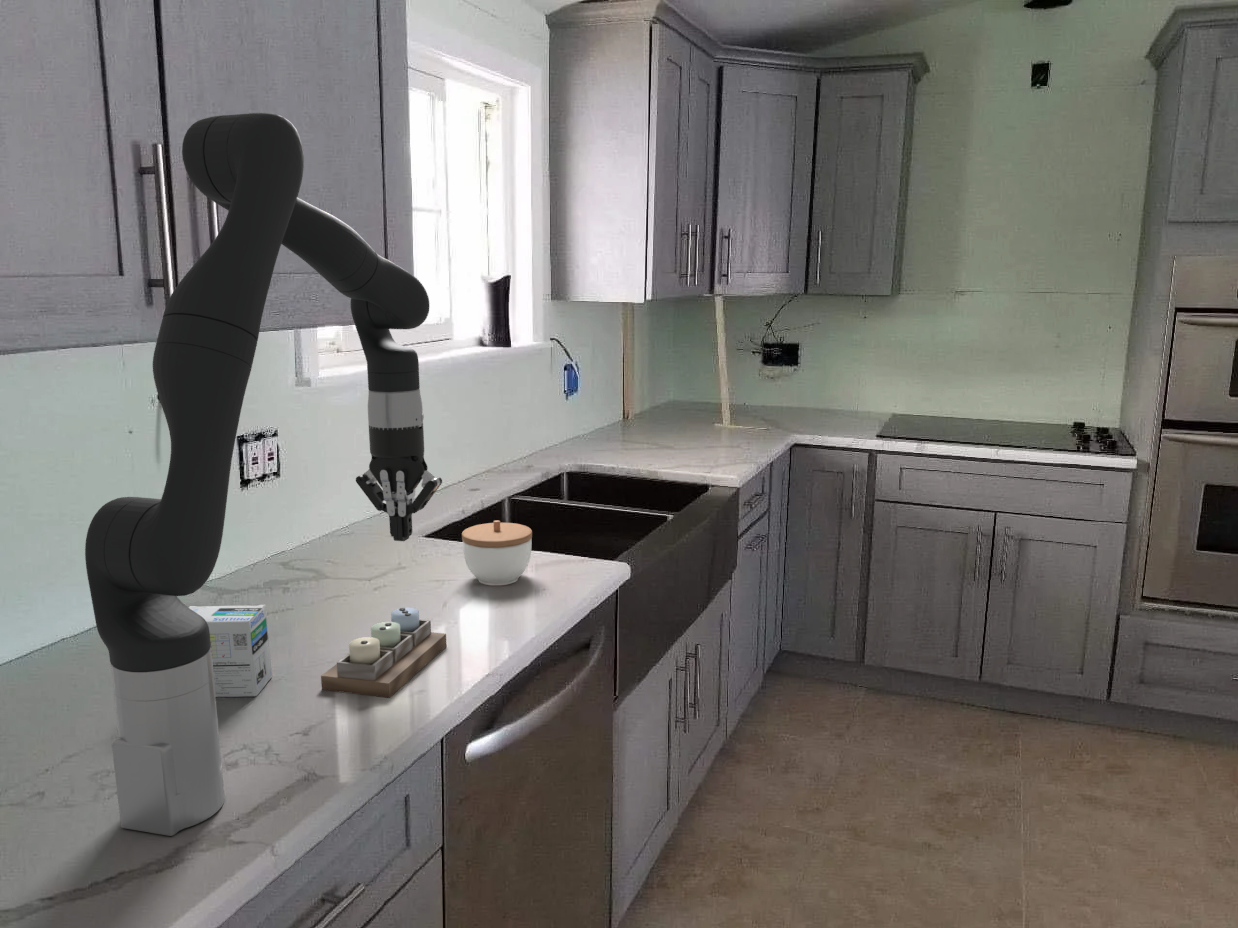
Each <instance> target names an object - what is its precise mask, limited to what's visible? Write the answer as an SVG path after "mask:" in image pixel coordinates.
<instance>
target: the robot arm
mask: <svg viewBox="0 0 1238 928" xmlns="http://www.w3.org/2000/svg"><path fill="white" fill-rule="evenodd" d="M183 136H184V137H183V141H182V146H181V154H182V162H183V165H184V169H185V171H186V173H187V175H188V177H189V179H190V181H191V182H192V184H193V185H194V186H195V188H197V189H198V191H199V192H201V194H203V195H204V196H205V197H206V198H208V199H209V200H210V201H212V202H213V203H215V204H216V205H218V206H220V207H221V208H223V209H225V210H227V211H228V212H227V215H226V217H225V220H224V223H223V225H222V226H221V229H220V230H219V233H218V234H217V236H216V237H215V238H214V240H213V241H212V243H211V244H210V245H209V246H208V247H207V249H206V250H205V251H204V252H203V254H202V255H201V256H200V257H199V258H198V260H196V262H195V263H194V264H193V266H192V267H190V269H189V270H188V272H186V274H185V275H184V276H183V278H182V279H181V280H180V281H179V283H178V284H177V286H176V287H175V289H174V290H173V291H172V293H171V295H170V297H169V299H168V301H167V303H166V306H165V308H164V311H163V314H162V319H161V321H160V322H161V323H160V327H159V332H158V335H157V338H156V342H155V347H154V351H153V357H152V372H153V373H152V374H153V380H154V384H155V388H156V393H157V395H158V398H159V401H160V405H161V408H162V411H163V414H164V417H165V421H166V423H167V428H168V431H169V437H170V438H169V439H170V457H169V458H170V460H169V465H168V472H167V477H166V482H165V486H164V489H163V492H162V494H161V498H151V497H141V496H140V497H139V496H124V497H123V496H121V497H117V498H114V499H112V500H110V501H108V502H106V503H104V504H103V505H102V506H101V507H100V508H99V509H98V510H97V511H96V512H95V514H94V516H93V517H92V519H91V521H90V524H89V525H88V528H87V532H86V536H85V538H86V539H85V542H84V543H85V545H84V546H85V547H84V548H85V549H84V551H85V552H84V555H85V556H84V559H85V567H86V576H87V581H88V586H89V592H90V597H91V604H92V610H93V613H94V614H93V615H94V620H95V625H96V629H97V632H98V635H99V637H100V639H101V641H102V642H103V644H104V645H105V646H106V649H107V650H108V655H109V662H110V671H111V678H112V688H113V697H114V706H115V707H114V708H115V716H116V723H117V724H116V725H117V732H118V737H117V738H115V739H114V740H113V741H112V742H111V750H112V751H111V753H112V758H113V759H112V760H113V768H114V777H115V787H116V794H117V795H116V796H117V803H118V804H117V805H118V810H119V819H120V827H121V828H122V829H126V830H133V831H139V832H143V833H144V832H145V833H151V834H157V835H162V836H169V837H170V836H171V837H173V836H174V835H176V834H177V833H178V832H180V831H181V830H184V829H186V828H189V827H193V826H196V825H198V824H200V823H203V822H204V821H206V820H207V819H209V818H211V817H212V816H214V815H215V814H216V813H217V812H218V811H220V809H221V808H222V806H223V804H224V803H225V799H226V798H225V787H224V786H225V785H224V774H223V765H222V753H221V743H220V734H219V733H220V732H219V720H218V710H217V700H216V698H217V697H215V686H214V675H213V663H212V652H211V641H210V631H209V626H208V624H207V622H206V621H205V619H204V618H203V617H202V616H200V615H199V614H197V613H196V612H194V611H193V610H191V609H190V608H188V606H187V605H186V604H184V603H183V602H182V601H181V599H180V598H179V597H185V596H189V595H192V594H194V593H195V592H196V591H198V590H199V589H201V588H202V587H203V586H204V585H205V583H206V582H207V581H208V580H209V579H210V577H211V575H212V573H213V571H214V569H215V566H216V564H217V561H218V558H219V555H220V550H221V545H222V542H223V541H222V540H223V535H224V525H225V518H226V513H227V512H226V511H227V501H228V494H229V485H230V476H231V467H232V461H233V454H234V449H235V444H236V437H237V433H238V427H239V424H240V417H241V412H242V407H243V403H244V399H245V395H246V390H247V387H248V383H249V379H250V376H251V372H252V368H253V363H254V358H255V355H256V351H257V346H258V341H259V335H260V329H261V326H262V325H261V324H262V318H263V314H264V310H265V306H266V305H265V304H266V302H267V297H268V293H269V290H270V285H271V282H272V278H273V273H274V270H275V266H276V263H277V259H278V256H279V252H280V249H281V246H282V245H283V247H284V248H286V249H288V250H289V251H290V252H292V253H293V254H295V255H296V256H297V257H299V258H300V259H301V260H303V261H304V262H305V263H306V264H308V266H309V267H311V268H312V269H313V270H314V271H316V272H317V273H318V274H319V275H320V276H321V277H322V278H324V280H325V281H327V282H328V283H329V284H330V285H331V286H332V287H333V288H335V290H337V291H338V292H339V293H340V294H342V295H343V296H345V297H347V298H350V312H351V315H352V320H353V323H354V325H355V330H356V331H357V335H358V338H359V341H360V344H361V348H362V350H363V353H364V356H365V360H366V364H367V365H366V368H367V369H366V372H367V387H368V396H367V397H368V398H367V419H368V437H369V453H370V455H371V460H370V462H369V464H368V468H369V469H368V470H367V471H366V472H364V473H363V474H361V475H357V476H356V478H355V483H356V484H357V485H358V487H360V489H361V490H362V492H363V493H364V495H365V496H366V497H367V498H368V500H369V501H370V503H371V504H372V505H373V506H374V508H375V509H376V510H377V511H379V512H384V513H386V514H387V515H388V520H389V534H390V537H391V538H393V541H398V542H405V541H407V540H408V539H410V536H412V534H413V514H416V513H417V512H419V511H421V510H423V509H424V508H425V507H426V505H427V504H428V503H429V502H430V500H431V499H432V497H433V496H434V495H435V493H436V492H437V491H438V489H439V488H440V486H441V485H442V484H443V479H442V478H441V477H440V476H434V474H432V473H431V472H429V470H428V464H427V463H426V460H425V458H424V457H425V456H424V455H425V438H424V437H425V436H424V435H425V434H424V432H425V431H424V417H425V416H424V413H423V410H424V409H423V402H422V396H421V389H420V367H419V366H420V363H419V355H418V353H417V351H416V350H415V349H413V348H411V347H408V346H405V345H401V344H400V343H398V342H396V341H395V339H394V338H393V336H392V333H391V331H390V330H413V329H416V328H418V327H420V326H421V325H423V323H424V322H425V321H426V320H427V318H428V316H429V313H430V298H429V294H428V292H427V290H426V288H425V287H424V285H423V283H421V281H420V280H419V279H418V277H416V276H415V275H413V274H412V273H410V272H409V271H407V270H406V269H404V268H402V267H401V266H400V265H397V264H396V263H394V262H393V261H390V260H389V259H387V258H384V257H383V256H381V255H379V254H378V252H376V250H375V249H374V248H373V247H372V246H370V244H369V243H368V242H367V241H366V240H365V239H364V238H363V237H362V236H361V235H360V234H359V233H358V232H357V231H356V230H354V229H353V227H352V226H350V225H348V224H347V223H346V222H344V221H343V220H341V219H339V218H337V217H336V216H334V215H332V214H331V213H328V212H326V211H325V210H322V209H320V208H319V207H316V206H315V205H312V204H310V202H309V203H308V202H307V201H304V200H303V199H301V198H299V197H298V196H299V193H300V190H301V188H302V187H301V185H302V183H303V177H304V170H305V169H304V168H305V155H304V146H303V142H302V139H301V137H300V134H299V132H298V130H297V128H296V127H295V126H294V124H293V123H292V122H291V121H290V120H288V119H287V118H286V117H284V116H283V115H280V114H276V113H270V112H251V113H250V112H249V113H239V114H226V115H225V114H224V115H215V116H210V117H209V116H208V117H206V118H205V117H204V118H201V119H199V120H197V121H196V122H194V123H193V124H191V125H190V126H189V128H188V129H187V131H186V132H185V135H183ZM421 481H422V482H421ZM420 483H421V487H422V489H421V490H420V492H419V493H418V495H417V496H416V488H417V487H418V486H419V484H420ZM415 496H416V498H415Z"/></svg>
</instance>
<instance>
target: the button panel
mask: <svg viewBox="0 0 1238 928" xmlns="http://www.w3.org/2000/svg"><path fill="white" fill-rule="evenodd" d="M431 622H432V621H431V620H429V619H420V618H419V624H420V627H419V628H418V629H416V630H415V631H414V632H405V631H400V634H401V642H400V643H399V644H398V645H397V646H395V647H394V648H389V647H380V659H379V660H378V661H377V662H375V663H374V664H373V665H367V664H358V663H350V654H349V653H347V654H346V655H345V656H344V657H342V658H341V659H340V660H338V661H337V662H336V664H334V665H333V666H332V667H331V668H330V669H328V670H327V671H324V673H323V674H321V675H320V681H321V683H320V684H321V690H323V691H329V692H331V691H332V692H337V693H338V692H340V693H348V694H357V695H363V696H364V695H365V696H372V697H380V698H381V697H382V698H383V697H384V698H389V699H390V698H391V697H392V696H393V695H395V693H397V692H398V691H399V690H400V689H401V688H403V686H405V684H407V683H408V682H409V681H410V680H411V679H412V678H414V677H415V675H417V674H418V672H420V671H421V670H422V669H424V668H425V667H426V665H428V663H430V662H431V661H432V660H433V659H434V658H435V657H436V656H437V655H439V654H440V653H441V652H443V650H444V649H445V648H446V647H447V633H441V632H432V626H431Z"/></svg>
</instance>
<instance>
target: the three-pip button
mask: <svg viewBox="0 0 1238 928" xmlns="http://www.w3.org/2000/svg"><path fill="white" fill-rule="evenodd" d="M390 615H391V617H390V619H391V621H390V622H396V623H398V624H400V631H405V632H414V631H415V630H416V629H418V628H419V627H420V624H419V619H420V610H419V609H417V608H416V607H399V608H396V609H394V610H391V613H390Z"/></svg>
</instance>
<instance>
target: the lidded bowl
mask: <svg viewBox="0 0 1238 928" xmlns="http://www.w3.org/2000/svg"><path fill="white" fill-rule="evenodd" d="M532 538H533V530H532V529H531V528H530V527H529V526H527V525H524V524H520V523H515V522H514V523H513V522H501V520H495V519H494V520H493V522H488V523H482V524H481V523H479V524H475V525H473V526H469V527H468V528H465V529H464V530H463V531H462V533H461V540H462V550H463V556H464V557H463V558H464V560H465V564H466V567H467V569H468V570H469V571H470V573H471V574H472V575H473V577H475V578H476V579H477V580H478V582H479V583H480V584H481V585H485V586H491V587H492V586H493V587H494V586H500V587H501V586H507V585H511V584H514V583H516V582H518V580H519V577H521V576H522V575H523V574H524V573H525V571H526V570H527V567H528V566H529V563H530V559H531V554H532V545H533V544H532Z"/></svg>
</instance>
